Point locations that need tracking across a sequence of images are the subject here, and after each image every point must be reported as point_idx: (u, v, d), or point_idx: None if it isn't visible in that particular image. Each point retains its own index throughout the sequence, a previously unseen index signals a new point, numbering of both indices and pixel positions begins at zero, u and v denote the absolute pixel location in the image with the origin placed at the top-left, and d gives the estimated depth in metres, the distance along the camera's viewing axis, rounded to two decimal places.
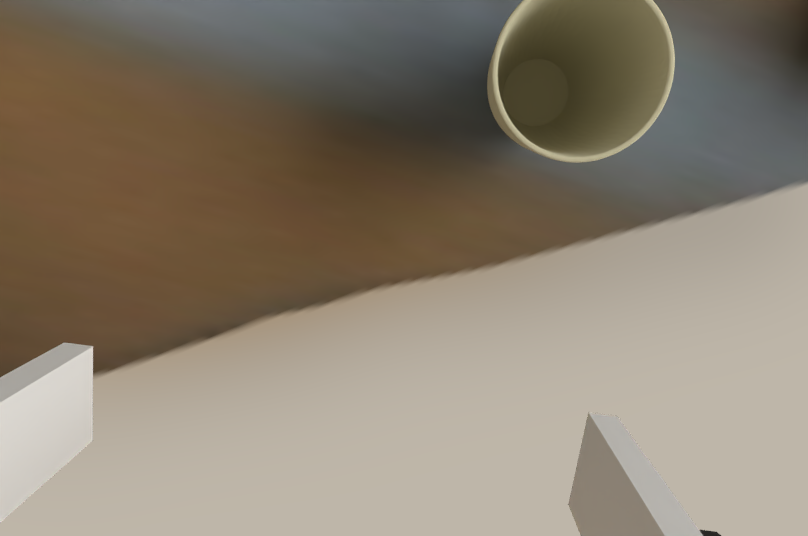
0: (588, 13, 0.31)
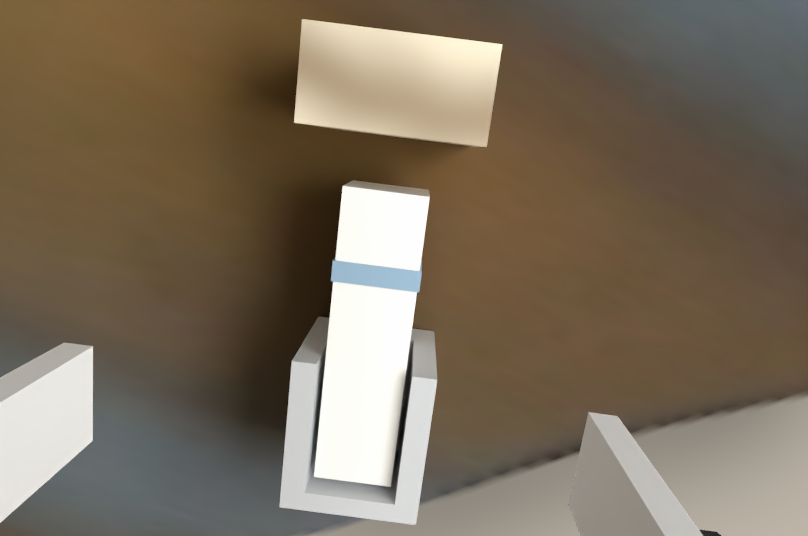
0: None
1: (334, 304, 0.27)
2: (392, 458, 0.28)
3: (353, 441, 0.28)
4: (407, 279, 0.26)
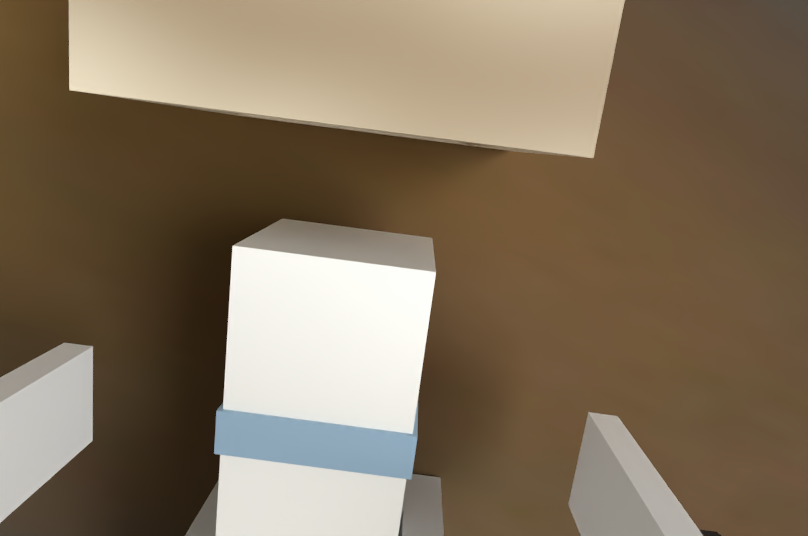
0: None
1: (225, 501, 0.12)
2: None
3: None
4: (384, 451, 0.12)
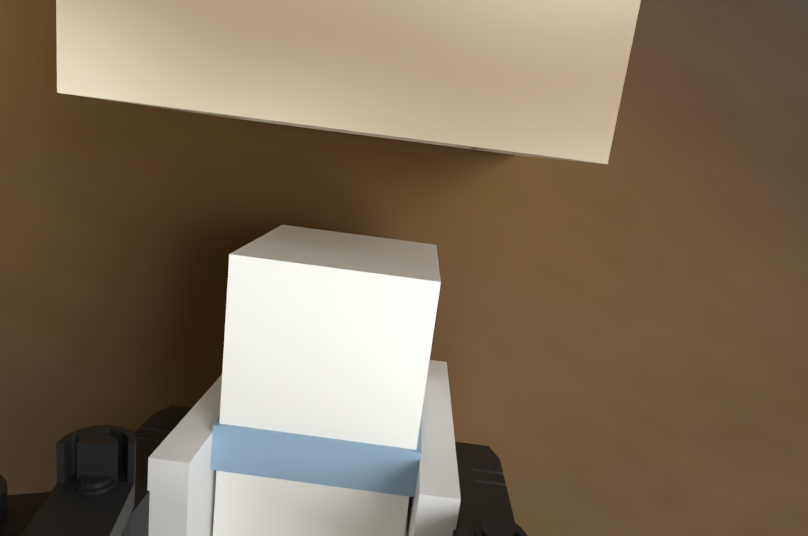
0: None
1: (221, 518, 0.12)
2: None
3: None
4: (386, 468, 0.11)
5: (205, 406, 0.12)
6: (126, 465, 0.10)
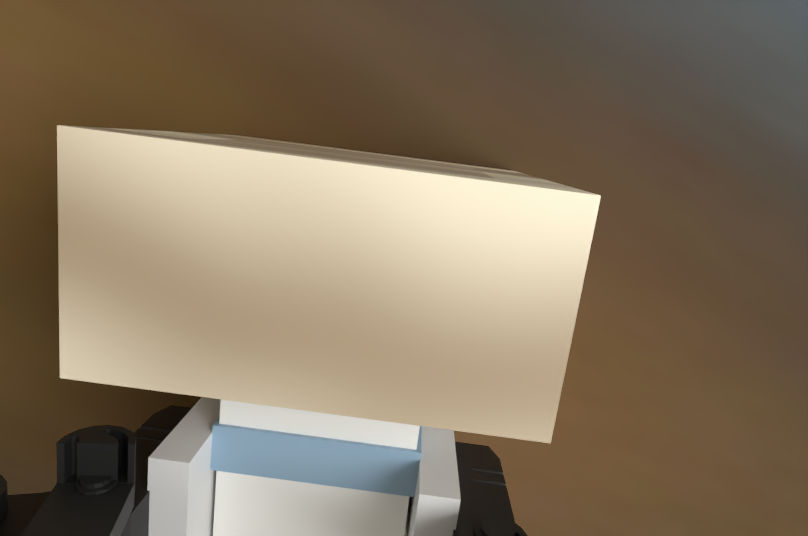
0: None
1: (221, 518, 0.12)
2: None
3: None
4: (386, 468, 0.11)
5: (205, 406, 0.12)
6: (126, 465, 0.10)
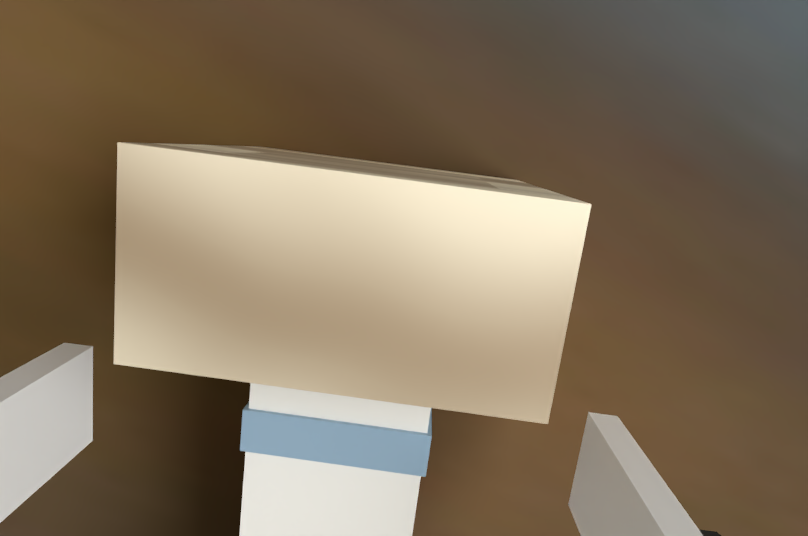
0: None
1: (249, 495, 0.13)
2: None
3: None
4: (399, 449, 0.12)
5: None
6: None
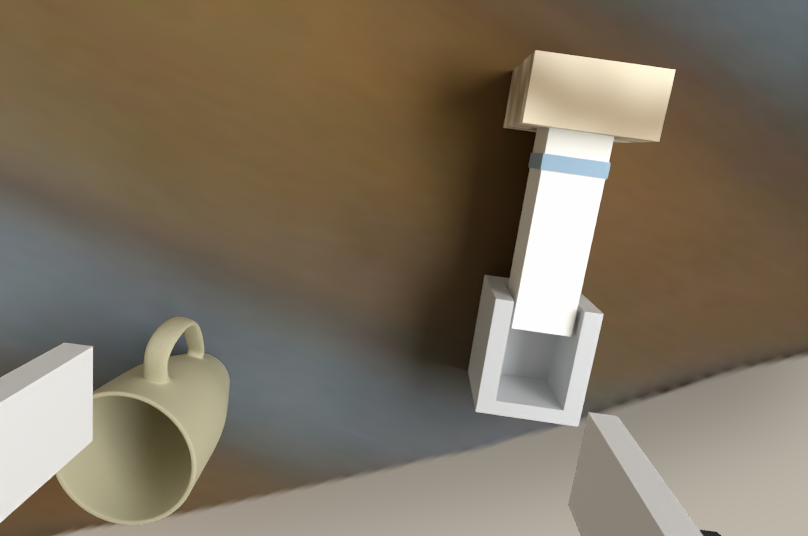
0: None
1: (540, 188, 0.35)
2: (574, 313, 0.36)
3: (545, 299, 0.36)
4: (599, 168, 0.34)
5: None
6: None
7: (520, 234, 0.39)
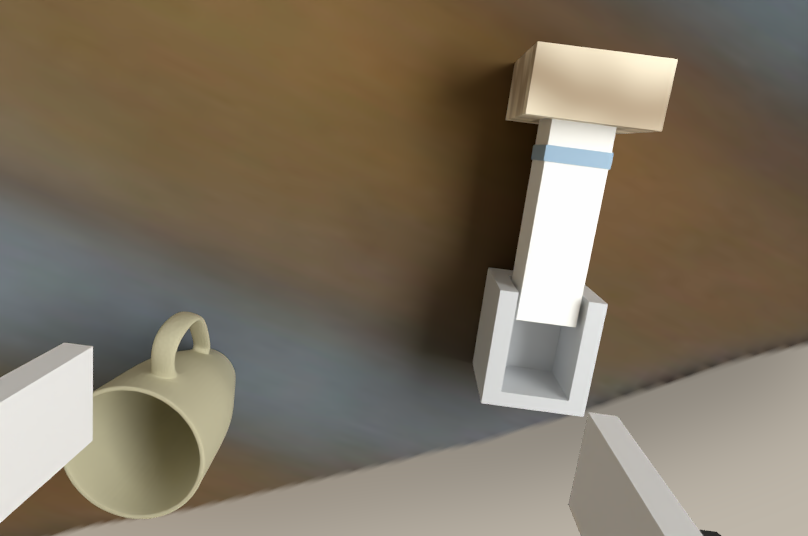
0: None
1: (544, 180, 0.35)
2: (578, 304, 0.37)
3: (549, 290, 0.37)
4: (601, 158, 0.35)
5: None
6: None
7: (523, 226, 0.39)
